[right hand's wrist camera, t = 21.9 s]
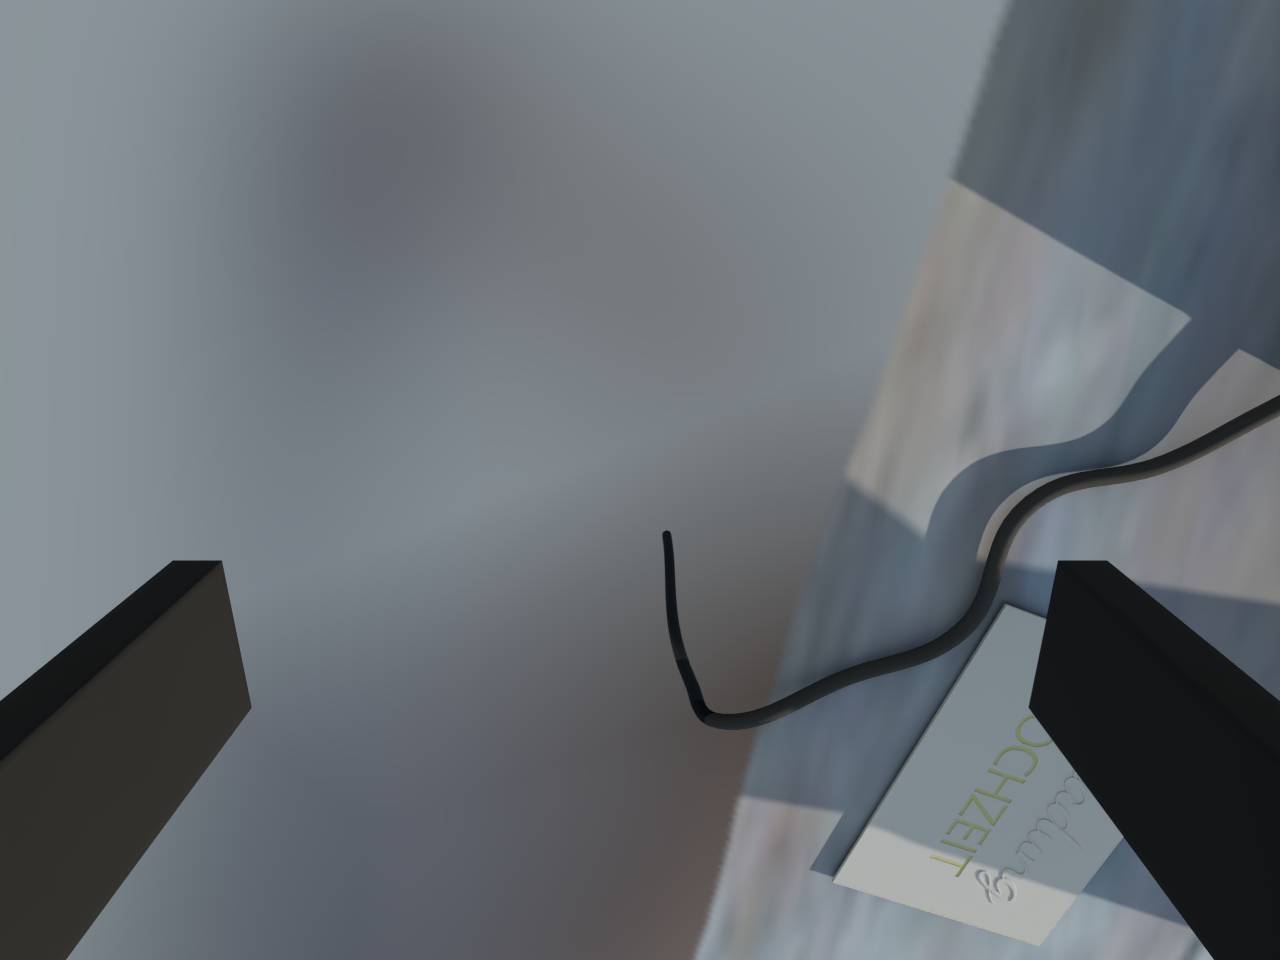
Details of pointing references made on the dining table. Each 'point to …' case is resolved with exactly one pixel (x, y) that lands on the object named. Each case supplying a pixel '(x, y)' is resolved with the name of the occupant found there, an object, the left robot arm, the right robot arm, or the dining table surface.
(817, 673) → the dining table surface
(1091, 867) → the invitation card
